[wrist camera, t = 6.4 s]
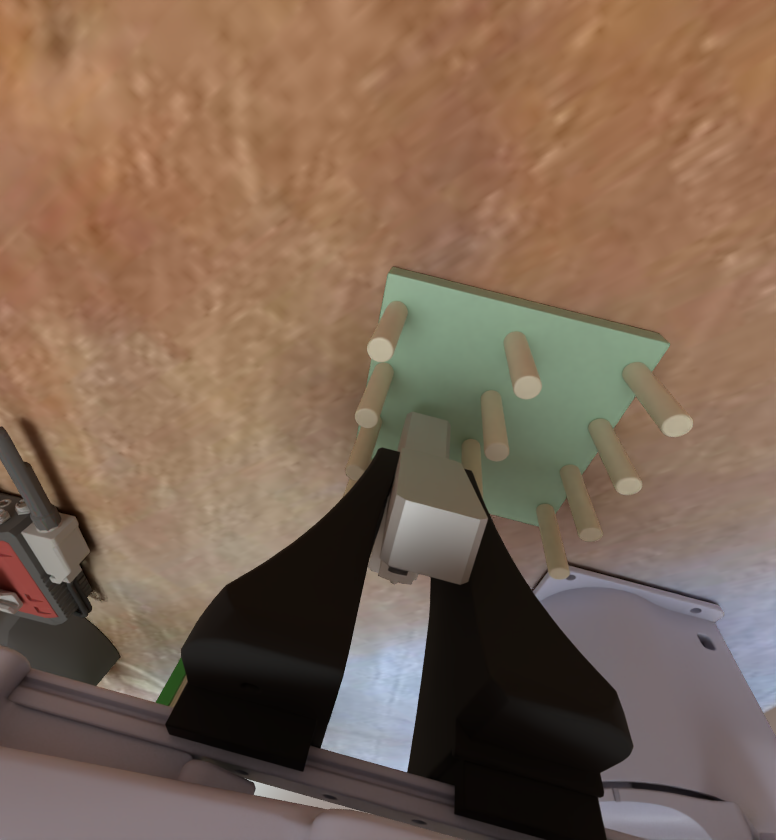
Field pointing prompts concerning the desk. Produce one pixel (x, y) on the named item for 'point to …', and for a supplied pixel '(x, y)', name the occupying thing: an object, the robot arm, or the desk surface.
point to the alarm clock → (60, 647)
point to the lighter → (428, 510)
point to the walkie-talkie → (38, 550)
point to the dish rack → (512, 396)
